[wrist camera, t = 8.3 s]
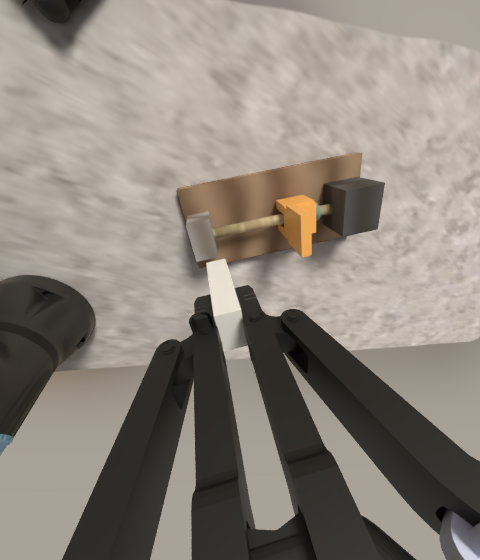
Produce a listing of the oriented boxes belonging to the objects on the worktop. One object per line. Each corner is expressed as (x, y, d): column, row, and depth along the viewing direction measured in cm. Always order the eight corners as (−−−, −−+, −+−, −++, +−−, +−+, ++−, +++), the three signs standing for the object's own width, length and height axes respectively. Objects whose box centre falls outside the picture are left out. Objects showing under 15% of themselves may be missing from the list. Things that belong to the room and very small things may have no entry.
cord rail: (199, 264, 38) (199, 288, 32) (177, 188, 32) (172, 199, 26) (349, 231, 40) (377, 248, 33) (355, 152, 33) (393, 154, 27)
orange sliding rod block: (278, 231, 36) (301, 257, 27) (275, 198, 33) (300, 215, 25) (303, 226, 36) (334, 250, 28) (302, 192, 33) (336, 208, 25)
